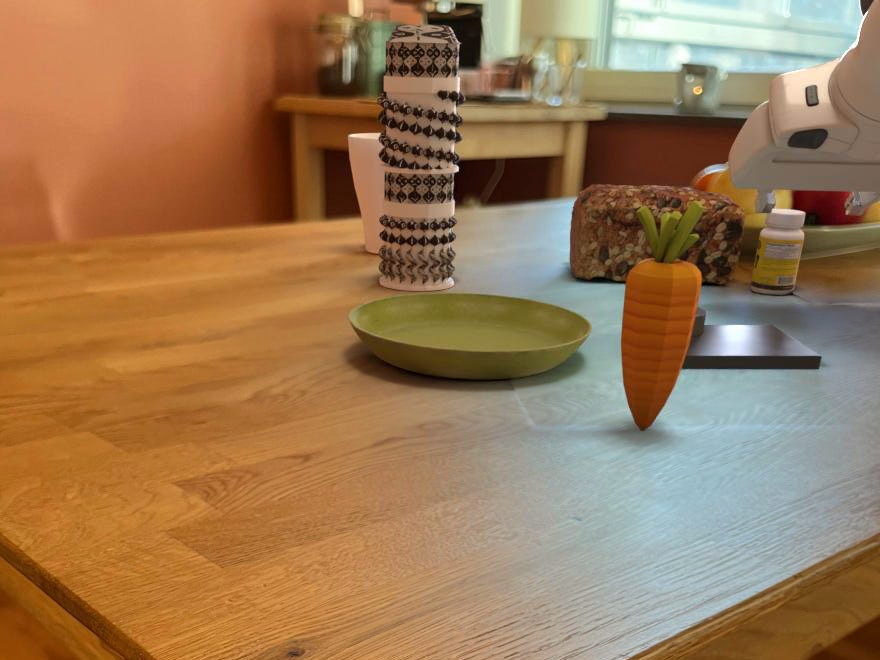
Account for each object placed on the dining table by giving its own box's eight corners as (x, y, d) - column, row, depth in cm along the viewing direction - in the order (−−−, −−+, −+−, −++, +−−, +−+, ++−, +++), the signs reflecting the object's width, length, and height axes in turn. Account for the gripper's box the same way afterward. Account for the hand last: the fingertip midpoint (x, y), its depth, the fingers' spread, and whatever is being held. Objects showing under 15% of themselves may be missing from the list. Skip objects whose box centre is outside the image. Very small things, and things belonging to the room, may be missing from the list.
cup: (403, 261, 127) (405, 140, 120) (333, 252, 131) (331, 136, 124) (443, 249, 134) (447, 136, 128) (375, 241, 139) (375, 131, 132)
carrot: (593, 429, 72) (619, 198, 64) (633, 414, 75) (663, 193, 67) (653, 446, 69) (688, 207, 61) (692, 430, 72) (731, 201, 64)
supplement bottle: (755, 285, 118) (770, 207, 113) (797, 290, 116) (813, 210, 111) (744, 292, 114) (759, 211, 110) (787, 297, 112) (804, 215, 108)
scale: (766, 335, 97) (772, 303, 95) (818, 370, 86) (827, 334, 85) (627, 335, 96) (631, 302, 94) (663, 369, 85) (669, 333, 84)
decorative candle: (443, 274, 120) (452, 26, 107) (467, 290, 112) (481, 25, 99) (367, 276, 118) (368, 24, 105) (387, 293, 110) (390, 23, 97)
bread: (573, 282, 117) (583, 188, 112) (565, 266, 126) (573, 177, 121) (737, 287, 116) (754, 193, 111) (716, 270, 125) (731, 182, 120)
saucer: (326, 381, 81) (325, 340, 79) (369, 321, 98) (370, 287, 97) (590, 397, 78) (595, 355, 77) (586, 333, 96) (589, 298, 94)
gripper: (979, 81, 93) (902, 185, 106) (757, 75, 92) (708, 180, 106) (988, 139, 91) (909, 237, 104) (763, 133, 91) (712, 233, 104)
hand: (807, 209), depth 105 cm, fingers open, 8 cm apart
